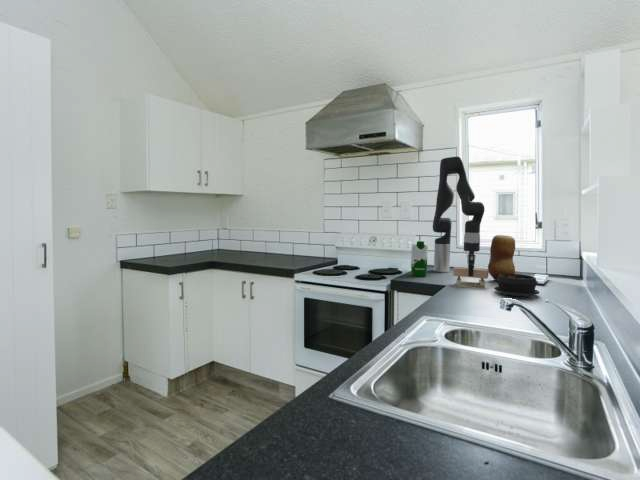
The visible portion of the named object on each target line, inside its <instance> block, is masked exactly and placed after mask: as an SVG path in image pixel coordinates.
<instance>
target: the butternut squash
mask: <svg viewBox="0 0 640 480" xmlns="http://www.w3.org/2000/svg"><path fill="white" fill-rule="evenodd" d="M515 250H516V240H515V238H514V237H513V236H511V235H504V234H496V235H494V236H493V238H492V239H491V244H490V249H489V253H490V259H489V261H488V265H487V270H488V274H489V275H490V277H491V278H492V279H494V281H496V282H497V283H498V281H497V280H496V279H497V278H498V277H499V275H500V274H516V266H515V263H514V260H513V259H514V255H515Z"/></svg>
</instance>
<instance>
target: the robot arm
mask: <svg viewBox="0 0 640 480" xmlns="http://www.w3.org/2000/svg"><path fill="white" fill-rule="evenodd" d="M449 175H457V176H458V181H457V184H456V192H457V195H458V198H459V199H460V204H461V205H460V206H461V211H462V213H463V215H465V216H467V217H468V216H470V217H472V219H469V220H466V221H465V223H464V235H463V251H465V252H468V254H466V259H467V260H466V261H467V262H466V263H467V268H468V269H469V271H468V275H469V276H473V269H475V263H476V258H477V256H476V254H475V252H479V251H480V249H481V246H480V245H481V233H480V232H481V223H482V219H483V217H484V214H485V205H484V203H483V202H481V201H474V200H475V199H476V195H475V193H474V190H473V189H472V187H471V184H470V183H469V182H470V181H469V180H468V176H467V172H466V169H465V166H464V162H463V160H462V158H461V157H460V156H449V157H444V158H442V159H441V160H440V164H439V177H438V178H439V182H438V189H437V193H436V194H437V195H436V204H435V211H434V216H433V221H432V231H433V232H434V233H439V234H440V233H443V234H444V235H442V236H440V237H438V238H435V239H434V254H433V255H434V256H433V257H434V258H433V271H434V272H437V273H450V263H451V262H450V261H451V259H450V257H451V238H452V237H451V235H452V219H451V217H450V218H449V217H442V216H443V214H444V213H445V212H447V210H449V209H450V207H451V206H452V205H453V203H454V198H455V192H454V189H453V187H452V186H451V185H450V182H449V181H448V176H449Z"/></svg>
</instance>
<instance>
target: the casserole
mask: <svg viewBox="0 0 640 480" xmlns="http://www.w3.org/2000/svg"><path fill="white" fill-rule="evenodd" d="M496 280H497V281H498V282H497V281H496V282H497V283H498V284H497V285H498V286H494V291H497V292H500V293H501V294H503V295H506V296H510V297H520V298H523V297H525V298H527V297H534V296H536V295H539V294H540V291H539V290H537V289H536V287H537V285H538V283H539V282H538V281H537V278H536V276H533V275H528V274H527V275H526V274H521V273H520V274H519V273H515V274H500V275H499V277H498V278H497V279H496Z"/></svg>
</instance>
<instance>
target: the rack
mask: <svg viewBox="0 0 640 480" xmlns="http://www.w3.org/2000/svg"><path fill="white" fill-rule="evenodd" d="M478 279H479V280H478V281H477V282H476V281H466V280H465V281H463V280H462V276H456V287H461V288H462V287H463V288H464V287H465V288H475V289H476V288H478V289H485V288H486V281H485V278H478Z"/></svg>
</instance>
